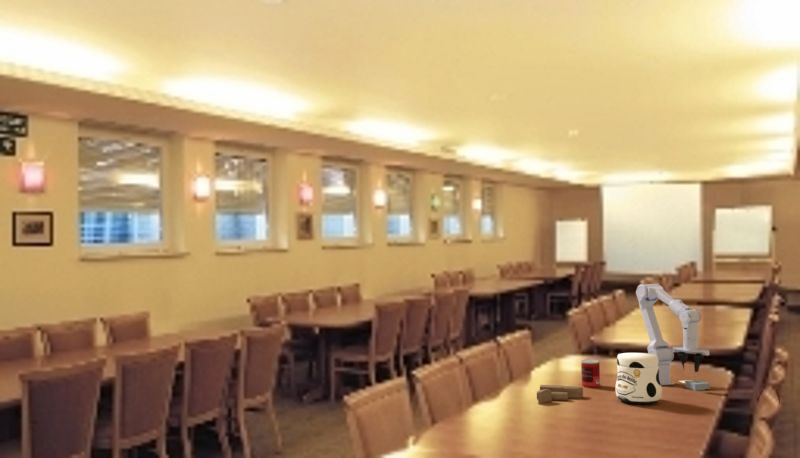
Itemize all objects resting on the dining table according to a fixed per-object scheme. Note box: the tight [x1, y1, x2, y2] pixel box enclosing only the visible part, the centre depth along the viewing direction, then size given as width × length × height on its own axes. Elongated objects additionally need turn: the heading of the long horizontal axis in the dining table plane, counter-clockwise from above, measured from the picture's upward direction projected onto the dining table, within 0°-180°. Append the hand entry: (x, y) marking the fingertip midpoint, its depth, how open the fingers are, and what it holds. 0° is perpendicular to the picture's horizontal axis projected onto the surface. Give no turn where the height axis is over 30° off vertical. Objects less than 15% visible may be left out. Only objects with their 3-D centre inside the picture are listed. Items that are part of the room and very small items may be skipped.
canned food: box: [580, 358, 601, 389], centre depth 307 cm, size 8×8×11 cm
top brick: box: [683, 361, 699, 377], centre depth 294 cm, size 4×4×5 cm
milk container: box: [614, 352, 663, 405], centre depth 277 cm, size 17×17×18 cm
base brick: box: [684, 379, 711, 391], centre depth 299 cm, size 7×7×3 cm
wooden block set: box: [536, 384, 584, 405], centre depth 281 cm, size 17×6×18 cm
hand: (691, 370), depth 294 cm, fingers closed on top brick, 4 cm apart
